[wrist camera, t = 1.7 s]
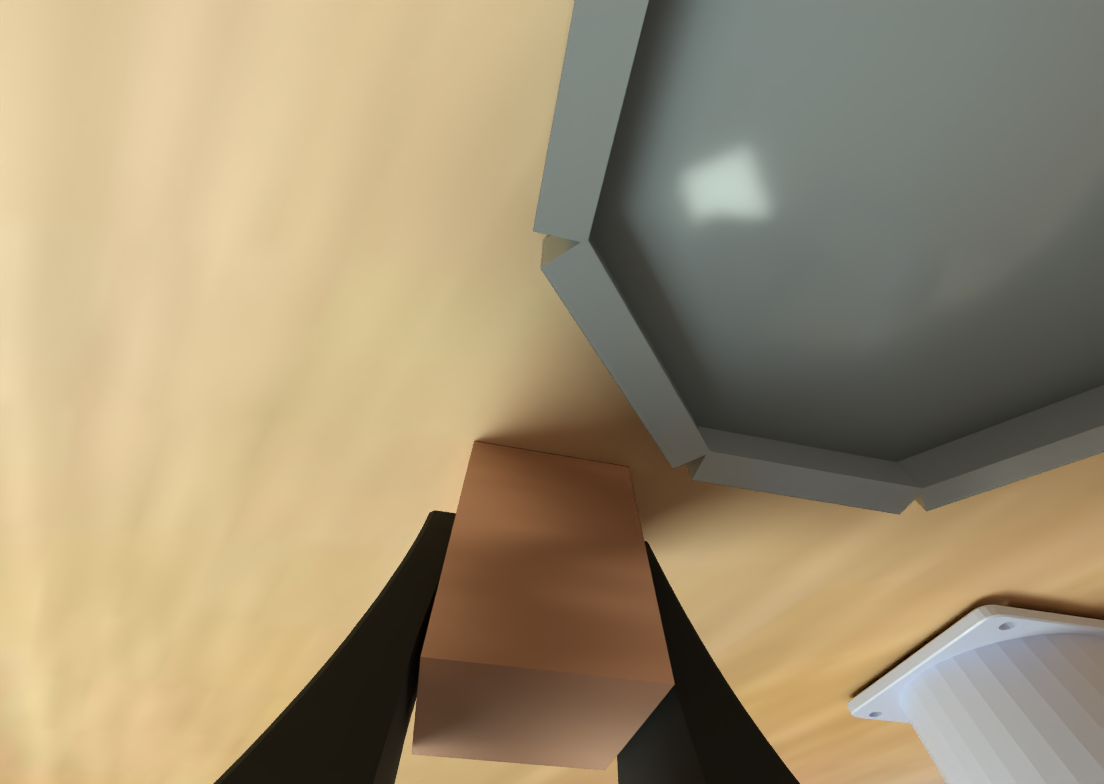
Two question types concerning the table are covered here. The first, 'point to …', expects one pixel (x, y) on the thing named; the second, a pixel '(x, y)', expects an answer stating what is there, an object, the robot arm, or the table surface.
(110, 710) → the table surface
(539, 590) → the block
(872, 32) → the dish
